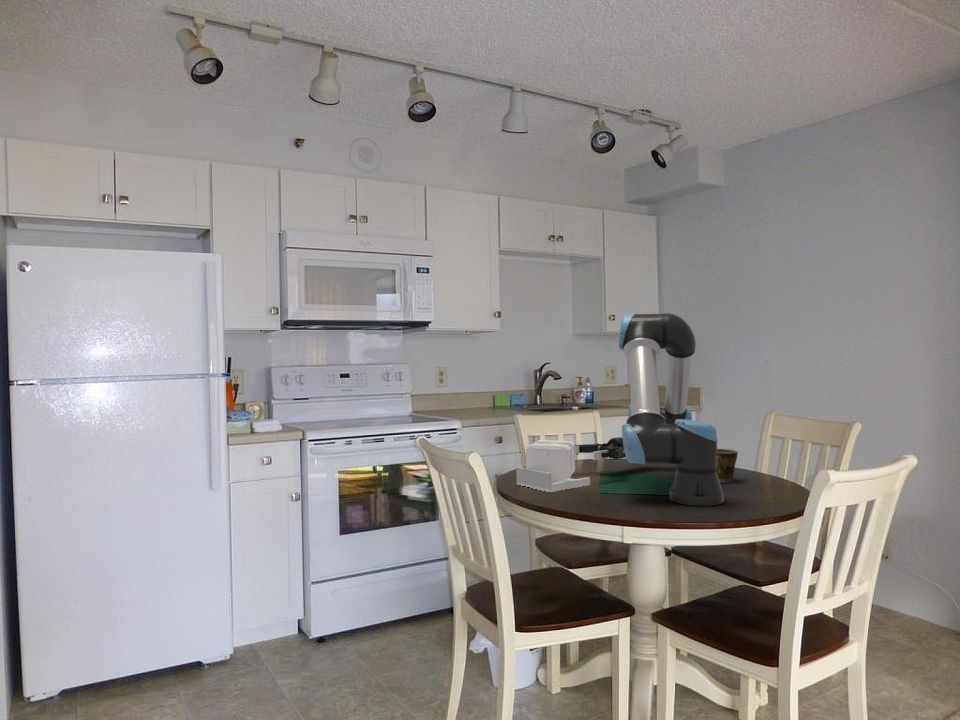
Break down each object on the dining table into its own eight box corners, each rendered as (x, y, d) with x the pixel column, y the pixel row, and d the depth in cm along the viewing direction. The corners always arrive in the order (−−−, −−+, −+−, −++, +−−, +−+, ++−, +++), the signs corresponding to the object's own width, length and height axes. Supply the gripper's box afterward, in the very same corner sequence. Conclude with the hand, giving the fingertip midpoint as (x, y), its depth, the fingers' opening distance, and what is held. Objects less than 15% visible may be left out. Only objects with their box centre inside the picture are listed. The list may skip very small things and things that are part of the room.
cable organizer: (578, 476, 229) (577, 441, 229) (570, 482, 219) (569, 445, 219) (534, 473, 235) (534, 439, 235) (525, 479, 225) (524, 443, 225)
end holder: (590, 485, 226) (589, 467, 226) (549, 492, 216) (549, 473, 216) (556, 478, 239) (556, 461, 239) (516, 485, 228) (516, 467, 228)
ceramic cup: (708, 477, 237) (708, 448, 237) (739, 479, 233) (739, 449, 233) (702, 484, 226) (702, 453, 225) (735, 486, 221) (735, 455, 221)
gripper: (649, 462, 237) (606, 469, 224) (595, 454, 257) (553, 460, 244) (648, 440, 237) (606, 446, 224) (595, 434, 257) (553, 439, 244)
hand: (578, 453), depth 234 cm, fingers open, 13 cm apart
